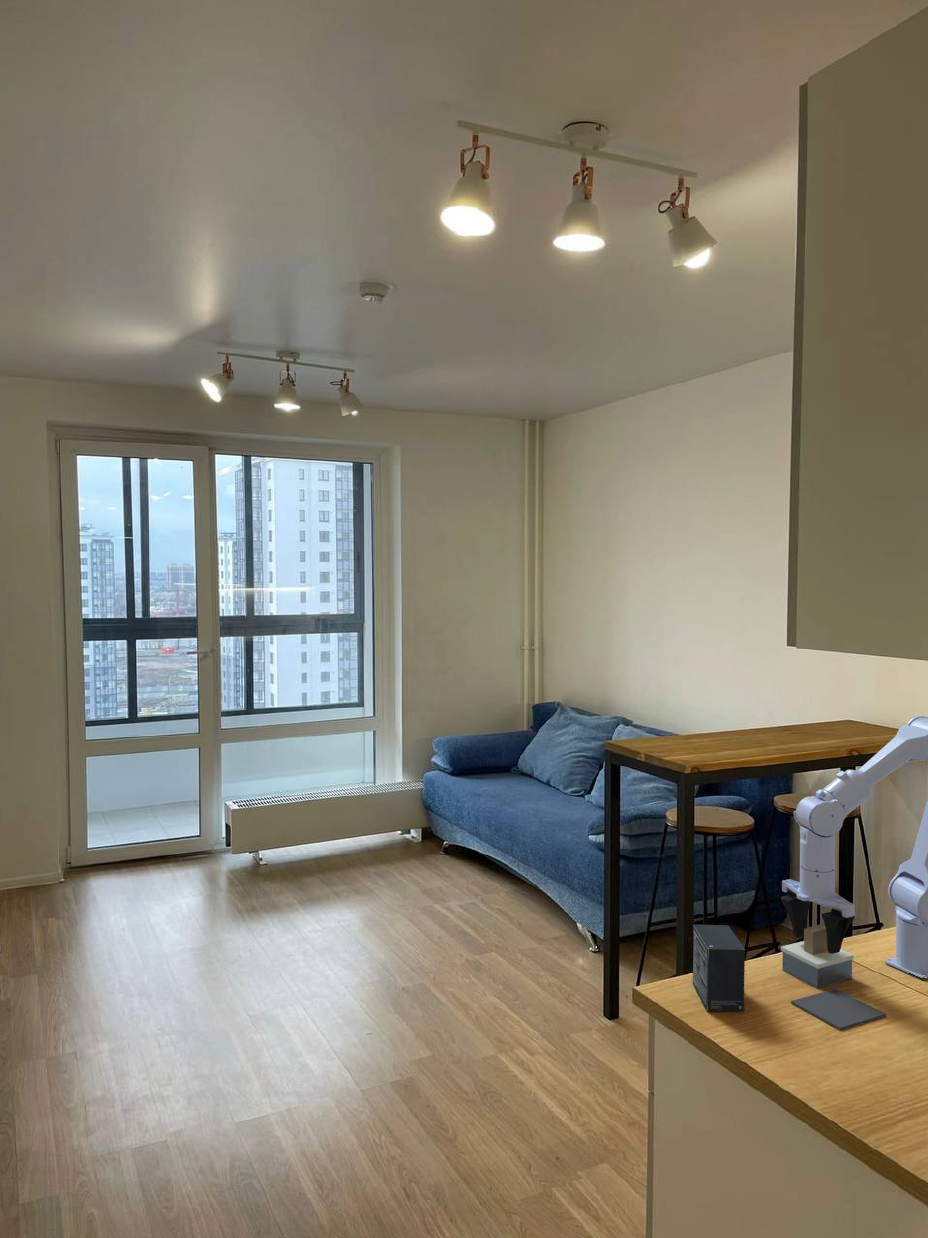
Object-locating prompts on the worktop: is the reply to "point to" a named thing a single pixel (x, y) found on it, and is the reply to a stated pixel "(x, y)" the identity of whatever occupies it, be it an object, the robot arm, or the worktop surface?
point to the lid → (816, 949)
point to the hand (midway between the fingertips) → (816, 944)
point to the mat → (838, 1009)
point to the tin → (817, 971)
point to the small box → (718, 968)
